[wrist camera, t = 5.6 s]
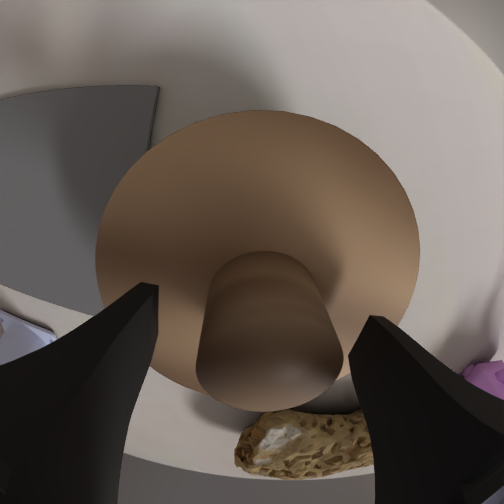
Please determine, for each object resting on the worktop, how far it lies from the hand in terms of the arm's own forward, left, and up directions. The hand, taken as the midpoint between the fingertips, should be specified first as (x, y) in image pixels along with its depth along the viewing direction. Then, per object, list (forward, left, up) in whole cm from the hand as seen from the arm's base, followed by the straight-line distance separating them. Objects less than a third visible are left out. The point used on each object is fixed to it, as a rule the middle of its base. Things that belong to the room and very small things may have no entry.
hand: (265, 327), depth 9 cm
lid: (0, 0, -2) cm, 2 cm away
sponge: (-18, -13, -8) cm, 24 cm away
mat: (0, +14, -7) cm, 16 cm away
